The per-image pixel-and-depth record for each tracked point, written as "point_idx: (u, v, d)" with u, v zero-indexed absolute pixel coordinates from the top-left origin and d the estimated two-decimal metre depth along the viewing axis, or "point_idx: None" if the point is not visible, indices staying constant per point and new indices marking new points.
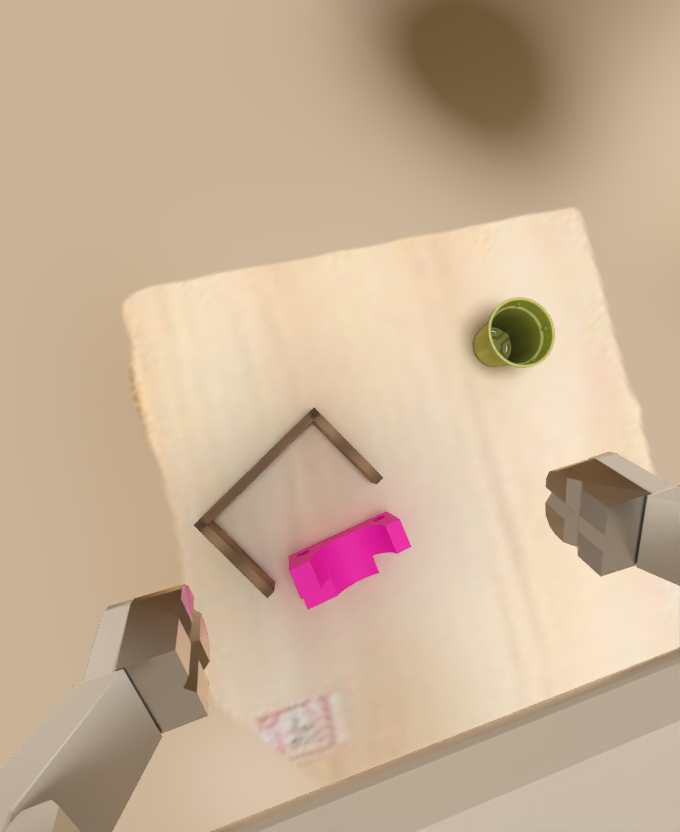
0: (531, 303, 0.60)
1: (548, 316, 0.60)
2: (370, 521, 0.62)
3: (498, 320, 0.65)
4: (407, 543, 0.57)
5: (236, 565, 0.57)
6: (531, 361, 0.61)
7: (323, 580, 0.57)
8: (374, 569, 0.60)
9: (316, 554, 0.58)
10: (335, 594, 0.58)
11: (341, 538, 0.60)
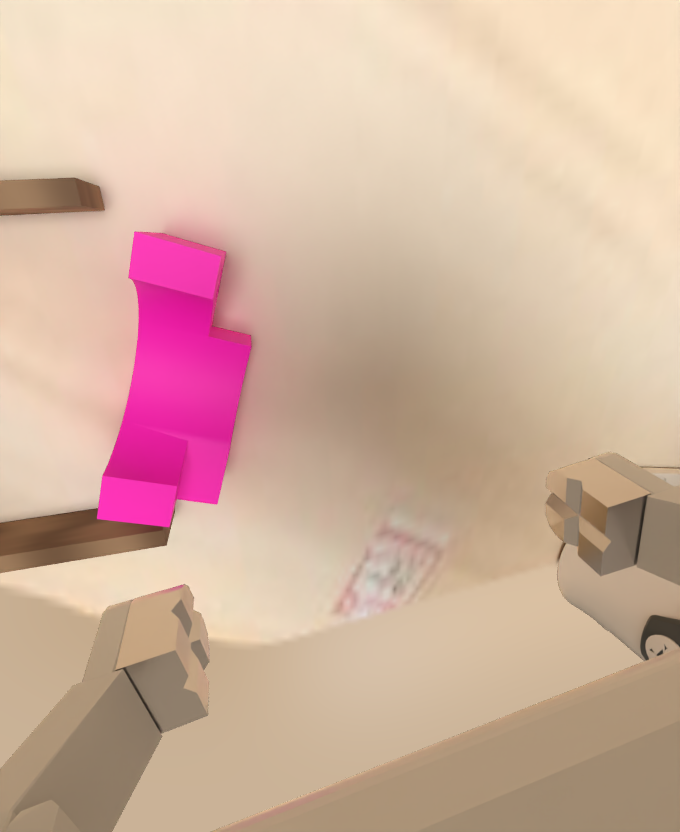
0: None
1: None
2: None
3: None
4: (207, 258, 0.21)
5: (71, 558, 0.28)
6: None
7: (177, 460, 0.26)
8: (238, 349, 0.27)
9: (121, 439, 0.26)
10: (225, 449, 0.28)
11: (137, 366, 0.26)
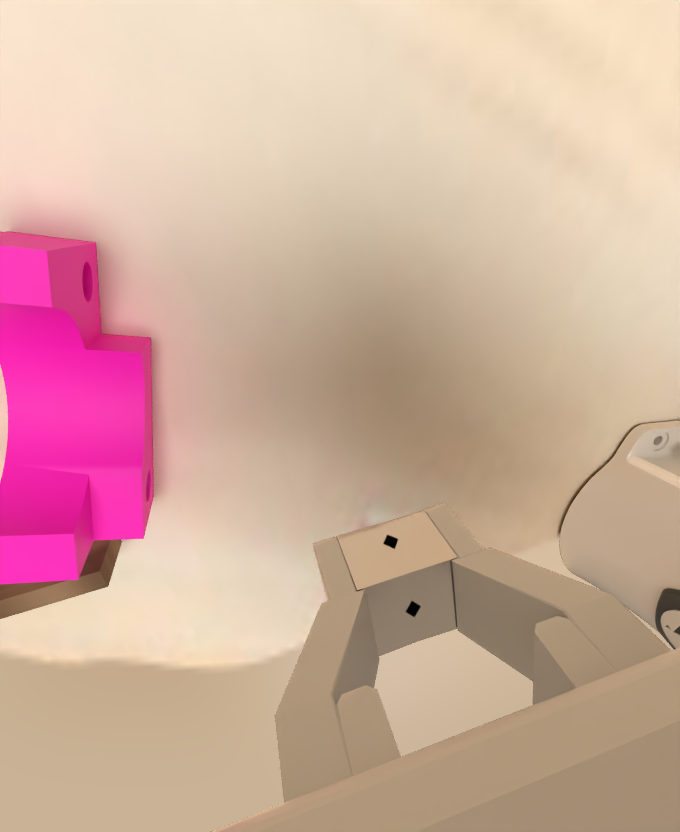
0: None
1: None
2: None
3: None
4: (28, 256, 0.16)
5: (0, 616, 0.25)
6: None
7: (75, 500, 0.22)
8: (128, 359, 0.22)
9: (4, 486, 0.22)
10: (137, 476, 0.23)
11: (10, 396, 0.22)
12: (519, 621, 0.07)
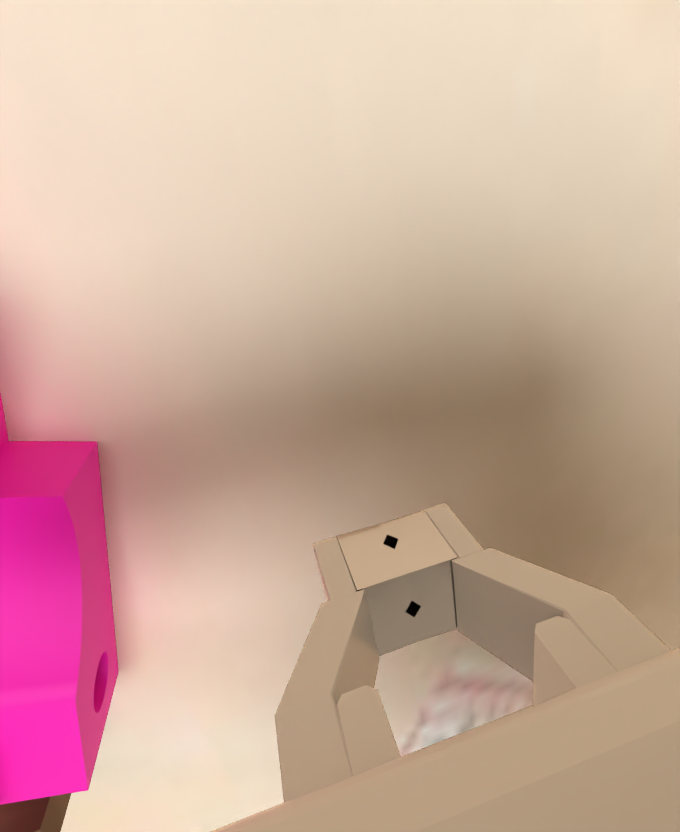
0: None
1: None
2: None
3: None
4: None
5: None
6: None
7: None
8: (38, 506, 0.12)
9: None
10: (67, 705, 0.13)
11: None
12: (519, 621, 0.07)
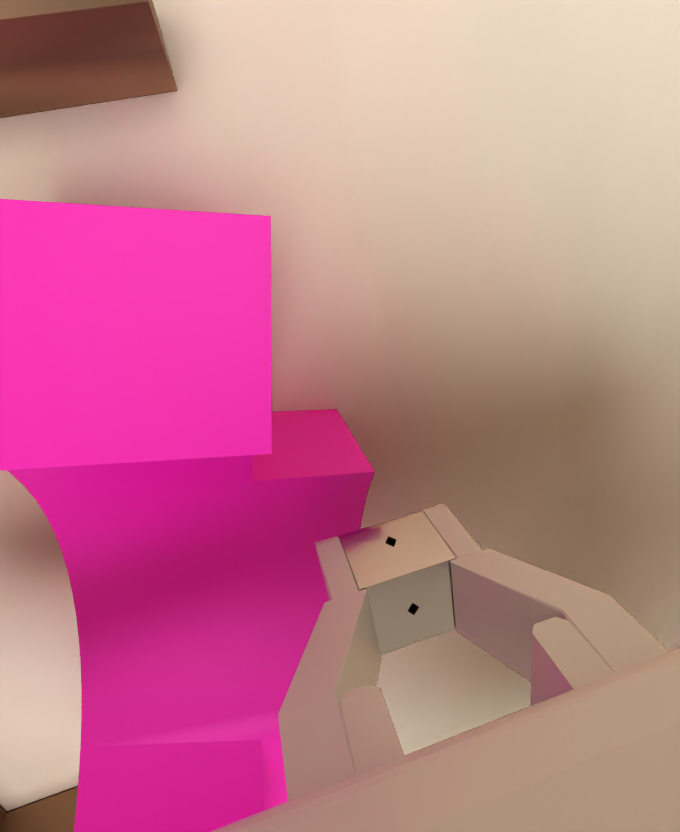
0: None
1: None
2: None
3: None
4: (192, 252, 0.03)
5: None
6: None
7: None
8: (340, 486, 0.09)
9: (87, 813, 0.09)
10: None
11: (82, 593, 0.10)
12: (517, 622, 0.07)
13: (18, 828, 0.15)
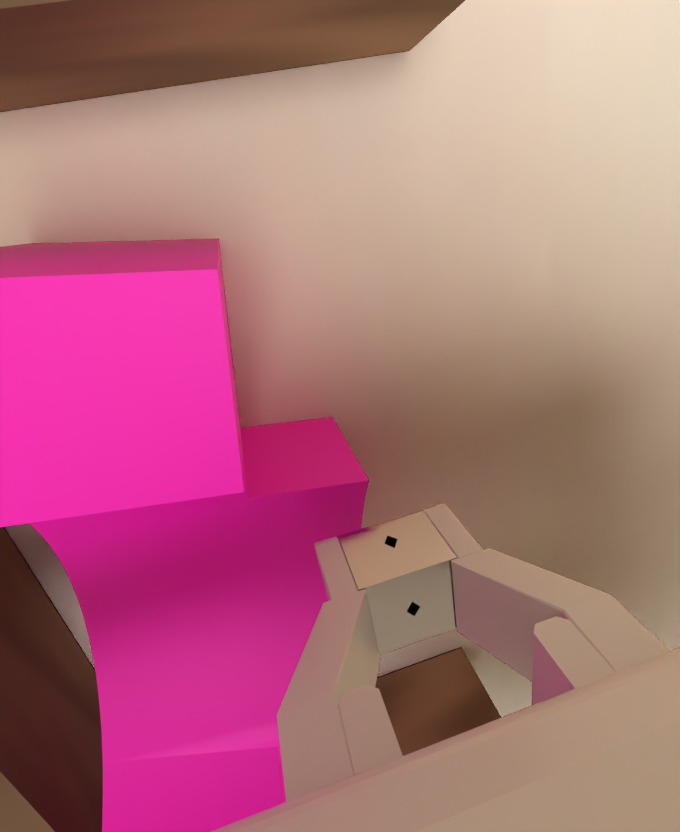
0: None
1: None
2: None
3: None
4: (143, 311, 0.03)
5: None
6: None
7: None
8: (336, 496, 0.10)
9: (113, 826, 0.09)
10: None
11: (92, 616, 0.10)
12: (518, 621, 0.07)
13: None
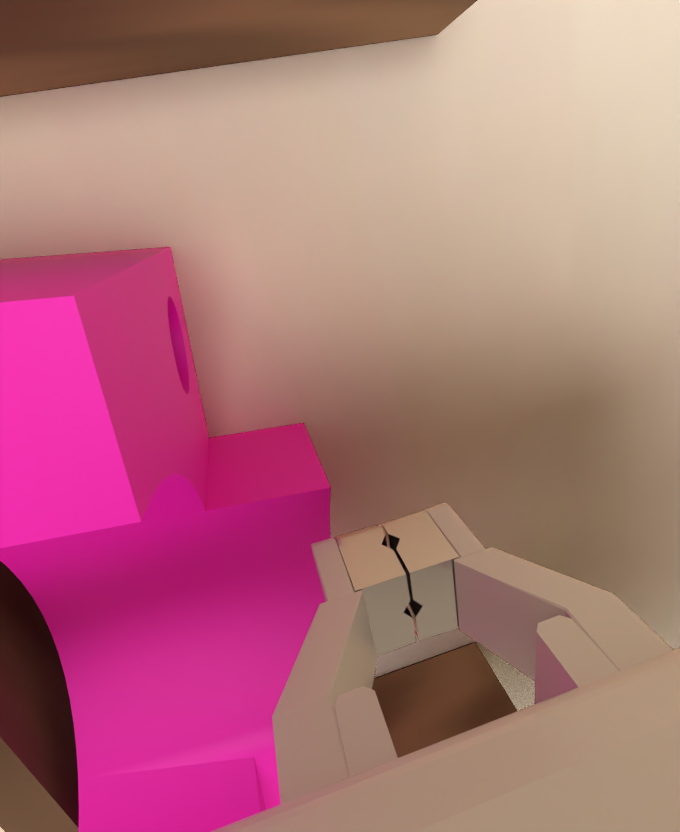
0: None
1: None
2: None
3: None
4: None
5: None
6: None
7: None
8: (300, 504, 0.09)
9: None
10: None
11: (60, 633, 0.10)
12: (521, 620, 0.07)
13: None
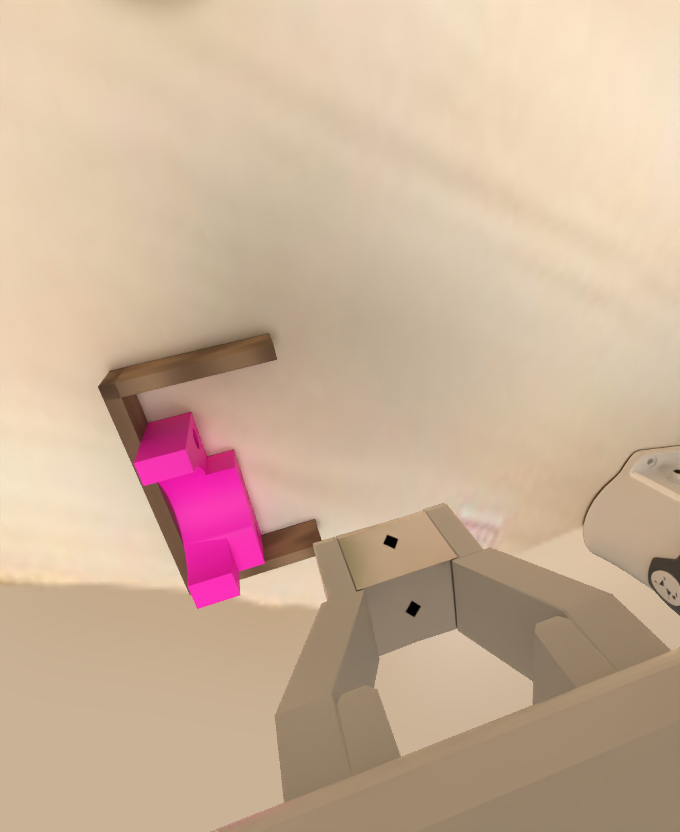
0: None
1: None
2: None
3: None
4: (178, 454, 0.33)
5: (267, 569, 0.43)
6: None
7: (225, 554, 0.40)
8: (228, 471, 0.39)
9: (188, 556, 0.40)
10: (251, 531, 0.41)
11: (175, 509, 0.40)
12: (519, 621, 0.07)
13: None
